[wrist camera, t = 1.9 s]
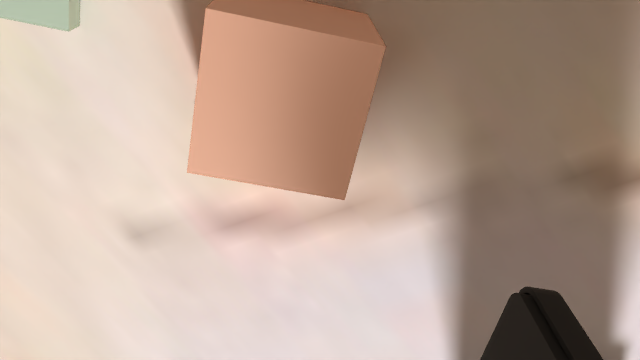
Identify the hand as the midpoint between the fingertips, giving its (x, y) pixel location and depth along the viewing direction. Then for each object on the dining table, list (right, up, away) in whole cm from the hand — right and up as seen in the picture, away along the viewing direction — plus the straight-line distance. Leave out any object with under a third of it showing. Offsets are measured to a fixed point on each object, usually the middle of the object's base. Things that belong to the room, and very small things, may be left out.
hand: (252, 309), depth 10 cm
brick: (0, +7, +14) cm, 16 cm away
